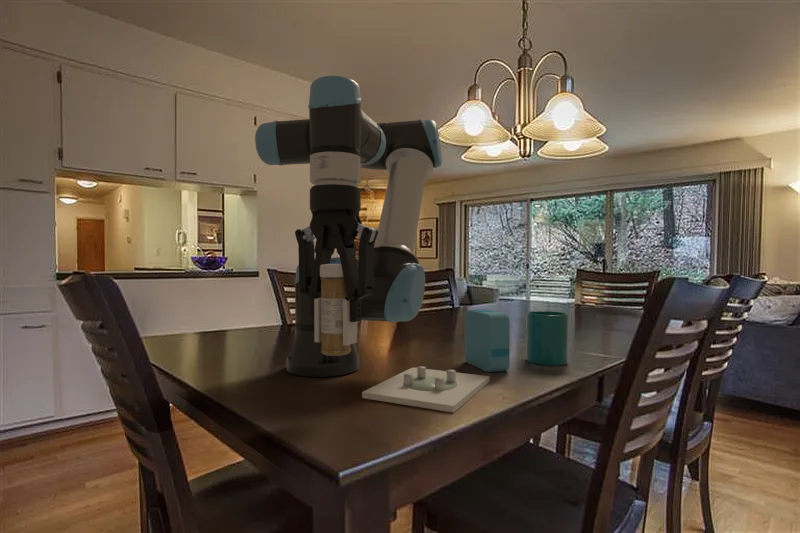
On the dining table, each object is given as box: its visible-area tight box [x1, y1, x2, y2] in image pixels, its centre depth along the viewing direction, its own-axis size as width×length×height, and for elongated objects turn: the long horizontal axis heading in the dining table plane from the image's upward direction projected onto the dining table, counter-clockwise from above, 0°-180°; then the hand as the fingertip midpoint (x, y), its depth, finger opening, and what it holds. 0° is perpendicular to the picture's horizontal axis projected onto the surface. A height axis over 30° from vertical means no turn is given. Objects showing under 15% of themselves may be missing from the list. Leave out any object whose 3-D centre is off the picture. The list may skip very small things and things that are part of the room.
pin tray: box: [361, 365, 490, 413], centre depth 80 cm, size 16×20×3 cm
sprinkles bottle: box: [320, 264, 351, 356], centre depth 68 cm, size 5×5×13 cm
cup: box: [525, 310, 569, 367], centre depth 104 cm, size 9×12×11 cm
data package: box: [464, 309, 511, 373], centre depth 98 cm, size 12×4×12 cm, turn 17°
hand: (335, 341), depth 68 cm, fingers closed on sprinkles bottle, 4 cm apart
